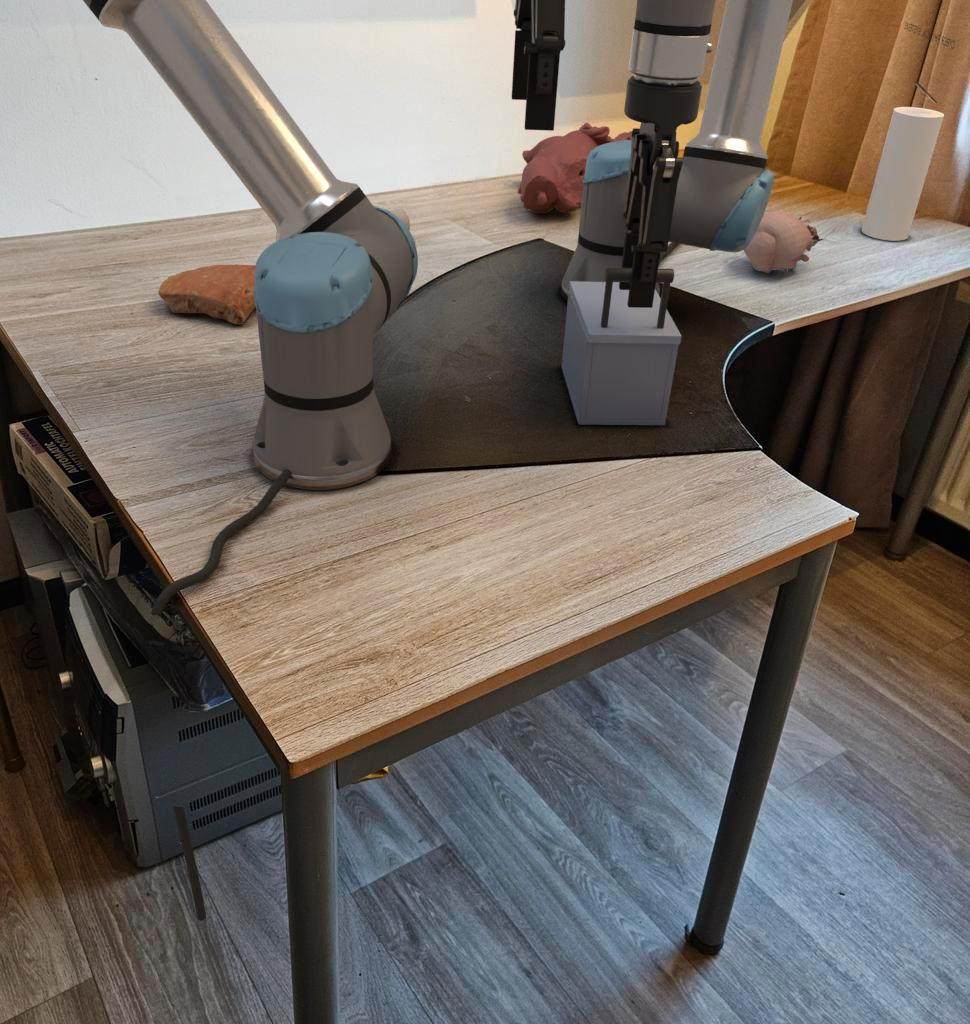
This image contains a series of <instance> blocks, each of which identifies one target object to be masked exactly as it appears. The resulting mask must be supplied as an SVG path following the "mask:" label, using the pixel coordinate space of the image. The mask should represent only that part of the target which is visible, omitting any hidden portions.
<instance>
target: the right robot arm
mask: <svg viewBox="0 0 970 1024" xmlns="http://www.w3.org/2000/svg"><path fill="white" fill-rule="evenodd" d="M716 1H717V0H636V9H635V18H634V26H633V27H632V36H631V45H630V53H629V62H628V70H629V71H630V73H631V74H633V75H632V76H630V77H629V79H627V82H626V91H625V97H624V98H625V100H624V108H623V113H624V115H625V116H626V117H627V118H628V119H630V120H632V121H635V122H637V123H640V124H639V126H640V127H639V128H638V127H637V128H632V130H631V131H632V133H631V136H632V140H625V141H616V142H610V143H606V144H603V145H600V146H598V147H596V148H594V149H593V150H592V151H591V152H590V153H589V155H588V157H587V162H586V169H585V176H584V177H583V192H582V203H581V205H580V216H579V226H578V237H577V244H576V248H575V250H574V252H573V255H572V257H571V259H570V262H569V264H568V266H567V269H566V270H565V273H564V275H563V278H562V280H561V289H560V294H561V298H563V300H564V301H565V302H567V303H568V294H569V284H570V281H579V282H606V281H605V269H606V268H607V267H609V268H632V273H631V281H630V282H619V289H620V290H629V296H628V303H627V305H628V307H634V308H652V306H653V300H654V293H655V289H656V291H657V293H658V295H659V296H660V283H656V279H657V273H658V269H659V266H660V262H662V261H663V260H664V259H665V258H666V257H667V256H669V254H670V253H671V252H672V251H673V249H674V248H676V247H677V245H684V246H690V247H695V248H701V249H706V250H709V251H710V252H716V251H717V252H718V251H719V252H725V253H734V254H735V253H736V254H737V253H740V252H742V251H744V249H745V248H746V247H747V246H748V245H749V244H750V242H751V241H752V239H753V237H754V235H755V233H756V231H757V229H758V227H759V224H760V222H761V220H762V217H763V215H764V214H765V213H766V209H767V206H768V204H769V201H770V198H771V195H772V190H773V187H774V183H775V174H774V172H772V171H771V170H770V169H767V168H766V167H767V163H768V158H769V156H768V155H767V153H766V151H765V150H764V148H763V147H762V142H761V140H762V136H763V131H764V129H765V128H764V127H765V123H766V118H767V114H768V110H769V106H770V101H771V96H772V92H773V88H774V84H775V80H776V76H777V71H778V67H779V62H780V58H781V54H782V50H783V45H784V41H785V36H786V33H787V29H788V23H789V21H790V20H789V19H790V15H791V12H792V11H791V10H792V8H793V7H792V6H793V2H794V0H726V2H725V7H724V11H723V17H722V21H721V26H720V30H719V36H718V40H717V45H716V48H715V49H716V50H715V53H714V58H713V59H714V60H713V64H712V69H711V73H710V78H709V83H708V88H707V93H706V97H705V101H704V107H703V110H702V111H703V112H702V117H701V120H700V126H699V130H698V133H697V134H696V135H695V137H693V138H692V139H691V140H689V141H688V142H687V143H685V145H684V149H683V154H682V157H679V153H680V152H679V151H680V142H679V140H677V129H678V127H680V126H682V125H685V126H686V125H690V124H692V123H693V122H695V121H696V120H697V119H698V116H699V115H698V114H699V109H700V103H701V95H702V90H703V86H702V85H701V82H700V81H699V80H697V79H700V78H701V77H702V76H704V74H705V73H704V72H705V67H706V62H707V61H706V60H707V54H710V53H712V51H713V49H714V44H713V43H712V42H711V41H710V35H711V31H712V23H713V16H714V12H715V6H716Z"/></svg>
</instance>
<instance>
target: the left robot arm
mask: <svg viewBox="0 0 970 1024" xmlns="http://www.w3.org/2000/svg"><path fill="white" fill-rule="evenodd" d="M82 2H83V3H84V4H85V5H86V7H87V8H88V9H89V11H91V12H92V14H93V15H94V17H95V18H96V19H97V20H98V21H99V23H100V24H101V26H103V27H105V28H110V29H115V30H120V31H123V32H125V33H126V34H127V35H128V36H129V38H130V39H131V40H132V42H133V43H134V45H135V46H136V47H137V48H138V49H139V51H140V52H141V53H142V54H143V56H144V57H145V59H146V60H147V61H148V62H149V64H150V65H151V66H152V67H153V69H154V70H155V72H156V73H157V74H158V75H159V76H160V78H161V79H162V80H163V82H164V83H165V84H166V85H167V87H168V88H169V89H170V91H171V92H172V93H173V95H174V96H175V97H176V98H177V100H178V102H180V104H181V105H182V106H183V108H184V109H185V110H186V111H187V113H188V114H189V115H190V116H191V118H192V120H193V121H194V122H195V123H196V124H197V126H198V128H200V129H201V131H202V132H203V133H204V135H205V136H206V137H207V139H208V140H209V141H210V143H211V144H212V146H213V147H214V148H215V149H216V150H217V151H218V153H219V154H220V156H221V157H222V158H223V160H224V161H225V162H226V164H227V165H228V166H229V168H231V170H232V172H234V174H235V175H236V176H237V178H238V179H239V181H241V183H242V184H243V186H244V187H245V188H246V189H247V190H248V192H249V194H250V195H251V196H252V197H253V199H254V200H255V201H256V202H257V203H258V205H259V206H260V208H262V210H263V211H264V213H265V214H266V215H267V216H268V218H269V219H270V220H271V222H272V223H273V224H274V226H275V229H276V235H275V242H273V243H271V244H270V245H269V246H267V247H266V248H265V249H264V250H263V251H262V252H261V253H260V255H259V256H258V258H257V260H256V261H255V271H254V276H255V282H254V284H255V285H254V290H253V294H254V301H255V306H256V307H255V310H256V311H255V312H256V320H257V330H258V340H259V349H260V359H261V369H262V379H263V388H264V390H263V391H264V396H263V400H262V404H261V408H260V412H259V415H258V419H257V423H256V427H255V430H254V434H253V439H252V455H253V460H254V464H255V467H256V468H257V470H258V471H259V472H260V473H261V474H262V475H263V476H265V477H266V478H268V479H269V480H271V481H273V483H272V485H271V486H270V487H269V488H268V489H267V491H266V492H265V494H264V495H263V497H262V498H261V500H259V502H258V503H257V504H256V506H254V507H253V508H252V509H251V510H250V511H248V512H246V513H245V514H244V515H241V516H240V517H238V518H237V519H235V520H233V521H232V522H230V523H228V524H227V525H226V526H225V527H224V528H223V529H222V530H221V531H220V532H219V533H218V534H217V536H216V537H215V538H214V540H213V542H212V545H211V551H210V554H209V558H208V560H207V562H206V564H204V566H203V567H202V569H199V570H197V571H196V572H193V573H192V574H189V575H185V576H184V577H182V578H181V577H180V578H178V579H177V580H175V581H173V582H171V583H170V584H169V585H167V586H166V587H165V588H164V589H163V590H162V591H161V592H160V594H159V595H158V597H156V600H155V602H154V604H153V606H152V608H151V612H150V614H151V616H155V617H156V616H160V615H161V614H163V612H164V611H165V608H166V606H167V604H168V603H169V601H170V600H171V599H172V597H174V595H176V594H177V593H179V592H181V591H183V590H186V589H188V588H190V587H193V586H195V585H198V584H200V583H202V582H204V581H205V580H207V579H208V578H209V577H210V576H211V575H213V573H214V572H215V571H216V569H217V568H218V566H219V564H220V561H221V558H222V553H223V549H224V545H225V543H226V542H227V541H228V539H229V538H230V537H231V536H232V535H233V534H235V533H236V532H237V531H239V530H241V529H242V528H244V527H246V526H248V525H249V524H251V523H252V522H253V521H255V520H256V519H258V518H259V517H260V516H261V515H262V514H264V512H265V511H266V510H267V509H268V507H269V506H270V505H271V504H272V502H273V501H274V499H275V497H276V496H277V495H278V493H279V492H280V491H281V490H282V488H283V487H284V486H286V487H290V488H295V489H301V490H312V491H314V490H315V491H323V490H327V491H328V490H337V489H342V488H348V487H351V486H355V485H358V484H361V483H363V482H366V481H368V480H370V479H373V478H374V477H375V476H377V475H378V474H380V473H381V472H382V471H383V470H384V469H385V468H386V467H387V466H388V464H389V463H390V461H391V458H392V436H391V432H390V430H389V427H388V424H387V422H386V419H385V417H384V413H383V411H382V408H381V406H380V403H379V400H378V398H377V395H376V393H375V385H374V338H375V336H376V335H377V334H378V332H379V330H380V329H381V328H382V327H383V326H384V325H385V324H386V322H387V320H388V319H389V318H390V317H391V316H392V314H393V313H394V312H395V311H396V309H399V308H400V307H401V306H402V305H403V303H404V302H405V300H406V299H407V298H408V295H409V294H410V292H411V289H412V288H413V287H412V286H413V284H414V282H415V280H416V277H417V273H418V267H419V266H418V265H419V256H418V250H417V244H416V241H415V239H414V236H413V235H412V233H411V231H410V230H409V229H408V228H407V227H406V225H405V224H404V223H403V222H402V221H401V220H400V219H399V218H398V217H397V216H396V215H395V214H393V213H392V212H390V211H391V210H388V209H386V208H381V207H378V206H376V205H373V203H372V202H371V200H370V199H369V198H368V196H367V195H366V194H365V193H364V191H363V189H361V187H360V186H359V185H358V184H357V183H355V182H348V181H343V180H340V179H338V178H337V177H336V176H335V174H334V173H333V172H332V170H331V168H330V167H329V166H328V165H327V164H326V162H325V160H324V159H323V158H322V157H321V155H320V154H319V152H318V151H317V150H316V148H315V147H314V146H313V144H312V142H310V140H309V139H308V137H307V136H306V135H305V133H304V132H303V130H302V129H301V128H300V127H299V125H298V124H297V122H296V121H295V120H294V119H293V117H292V115H291V114H290V113H289V112H288V111H287V109H286V107H285V106H284V105H283V103H282V102H281V101H280V99H279V98H278V96H277V95H276V94H275V93H274V90H273V89H271V87H270V85H269V84H268V83H267V82H266V80H265V79H264V78H263V76H262V75H261V73H260V72H259V70H258V69H257V68H256V67H255V65H254V64H253V63H252V61H251V60H250V59H249V57H248V55H247V54H246V53H245V52H244V50H243V49H242V47H241V46H240V45H239V42H237V41H236V39H235V38H234V36H233V35H232V34H231V33H230V31H229V30H228V28H227V27H226V25H225V24H224V23H223V21H222V20H221V19H220V18H219V16H218V15H217V14H216V12H215V11H214V9H213V7H211V5H210V4H209V2H208V1H207V0H82ZM513 17H514V25H515V30H514V32H515V33H514V46H513V64H512V65H513V66H512V83H511V100H513V101H514V100H515V101H525V114H524V130H525V131H549V132H550V131H551V132H552V131H555V120H556V107H557V97H558V95H557V94H558V83H559V70H560V58H561V52H562V51H564V49H565V47H566V39H565V28H566V27H565V25H566V20H565V19H566V0H515V4H514V9H513ZM172 809H173V814H174V818H175V819H174V820H175V822H176V823H175V824H176V827H177V831H178V835H179V839H180V844H181V848H182V853H183V858H184V861H185V866H186V870H187V874H188V879H189V885H190V888H191V893H192V898H193V903H194V908H195V913H196V918H197V920H198V921H199V922H203V921H205V919H206V918H207V912H206V907H205V901H204V896H203V891H202V886H201V881H200V875H199V871H198V866H197V861H196V857H195V853H194V848H193V844H192V839H191V834H190V831H189V826H188V825H189V824H188V821H187V817H186V812H185V808H184V806H176V805H172Z"/></svg>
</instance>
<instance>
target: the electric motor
mask: <svg viewBox="0 0 970 1024" xmlns="http://www.w3.org/2000/svg"><path fill="white" fill-rule="evenodd" d="M389 211H390V212H392V213H393V214H395V215H396V216H397V217H398V218H399V219H400V220H401V221H402V222H403V223H404V224H405V225H406V227H407V228H408V229H409V231H410V229H411V222H410V218H409V216H408V213H407V212H406V210H404V209H403V208H397V209H392V210H389Z"/></svg>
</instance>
